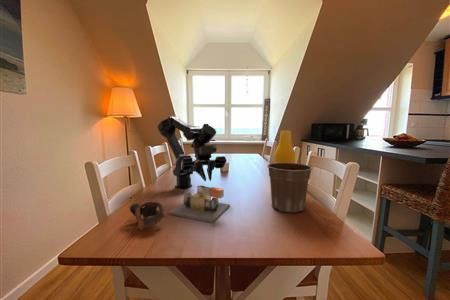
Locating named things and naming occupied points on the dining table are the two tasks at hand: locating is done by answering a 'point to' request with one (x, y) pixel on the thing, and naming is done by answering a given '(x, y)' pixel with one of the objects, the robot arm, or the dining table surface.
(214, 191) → the valve lever
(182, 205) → the rubber mat
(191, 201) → the valve body
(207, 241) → the dining table surface
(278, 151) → the yellow bottle
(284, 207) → the plant pot
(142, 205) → the pottery mug
